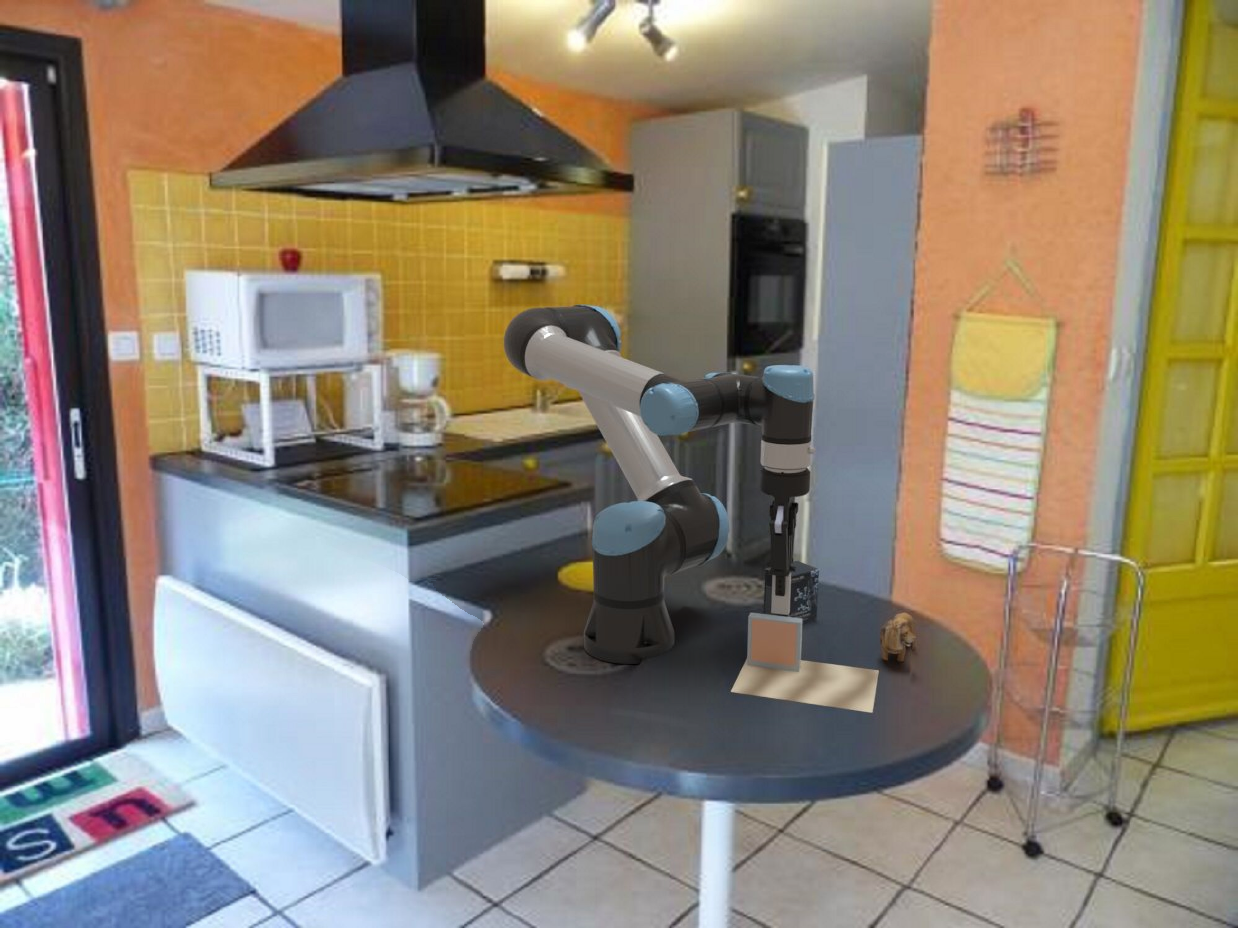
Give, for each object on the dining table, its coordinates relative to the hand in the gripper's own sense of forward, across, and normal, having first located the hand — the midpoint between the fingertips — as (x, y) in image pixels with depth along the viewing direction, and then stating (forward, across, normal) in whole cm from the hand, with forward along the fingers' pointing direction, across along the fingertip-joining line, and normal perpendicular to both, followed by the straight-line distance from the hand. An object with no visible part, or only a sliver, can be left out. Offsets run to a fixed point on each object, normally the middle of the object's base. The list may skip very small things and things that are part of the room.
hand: (780, 612), depth 144 cm
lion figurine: (+8, +5, -18) cm, 21 cm away
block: (+7, -5, 0) cm, 9 cm away
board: (+8, -9, -5) cm, 13 cm away
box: (+8, +14, 0) cm, 16 cm away
